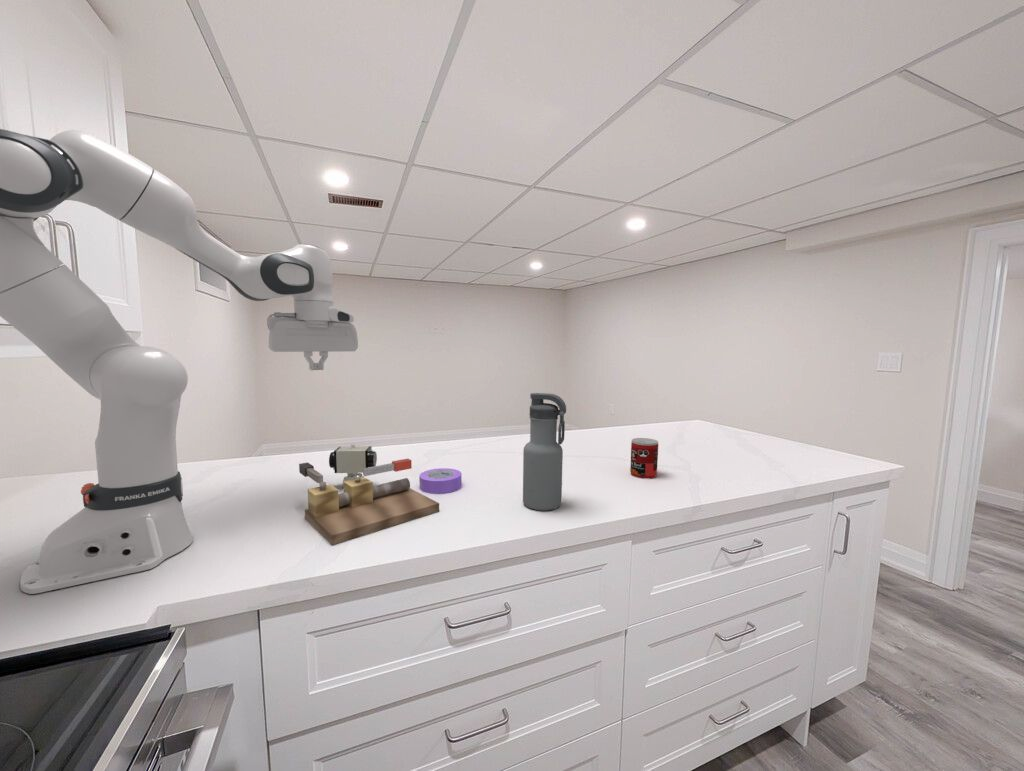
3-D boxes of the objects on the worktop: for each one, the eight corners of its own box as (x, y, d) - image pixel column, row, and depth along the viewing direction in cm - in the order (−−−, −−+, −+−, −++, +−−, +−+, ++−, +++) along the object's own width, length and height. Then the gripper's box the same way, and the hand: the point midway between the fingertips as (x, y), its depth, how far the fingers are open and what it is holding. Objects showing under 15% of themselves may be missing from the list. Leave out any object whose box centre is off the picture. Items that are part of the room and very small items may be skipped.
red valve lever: (411, 470, 106) (411, 460, 106) (356, 482, 97) (356, 470, 96) (407, 468, 107) (407, 458, 107) (353, 480, 98) (353, 468, 98)
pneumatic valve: (373, 489, 113) (372, 446, 112) (329, 490, 112) (328, 447, 110) (378, 482, 118) (377, 441, 117) (336, 483, 117) (334, 442, 116)
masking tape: (412, 486, 116) (411, 473, 116) (447, 477, 124) (447, 465, 123) (433, 498, 107) (433, 483, 107) (469, 488, 115) (469, 474, 115)
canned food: (625, 472, 130) (626, 438, 129) (646, 470, 133) (648, 437, 132) (639, 480, 123) (641, 444, 122) (662, 477, 125) (663, 442, 124)
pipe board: (332, 545, 81) (330, 495, 80) (291, 505, 101) (290, 465, 100) (439, 511, 98) (439, 470, 97) (387, 482, 118) (386, 448, 117)
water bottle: (565, 499, 107) (568, 392, 104) (559, 514, 97) (562, 397, 95) (527, 495, 110) (529, 391, 107) (518, 509, 100) (519, 395, 97)
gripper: (270, 310, 92) (273, 372, 93) (359, 315, 106) (361, 369, 107) (263, 312, 96) (266, 370, 98) (350, 317, 110) (351, 368, 112)
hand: (316, 370), depth 103 cm, fingers closed
